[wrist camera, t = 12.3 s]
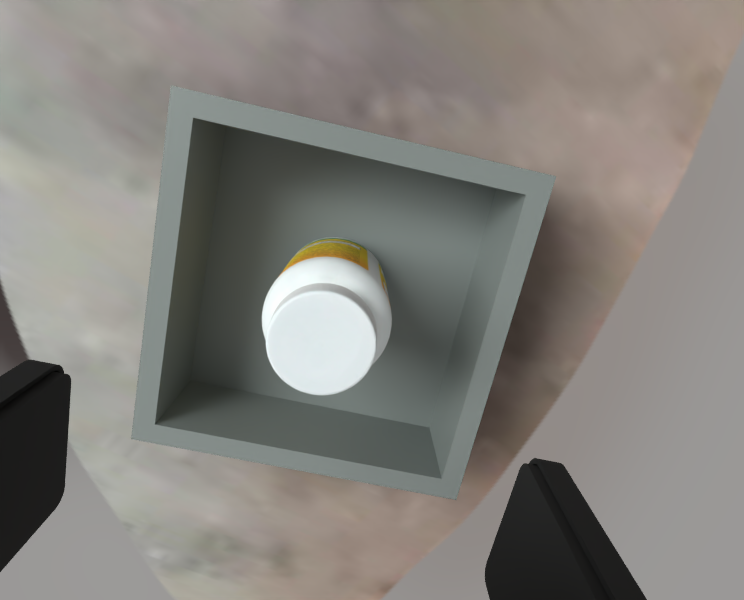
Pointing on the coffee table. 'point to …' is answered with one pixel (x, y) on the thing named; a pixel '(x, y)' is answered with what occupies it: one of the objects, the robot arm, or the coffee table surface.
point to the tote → (275, 250)
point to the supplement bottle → (327, 317)
